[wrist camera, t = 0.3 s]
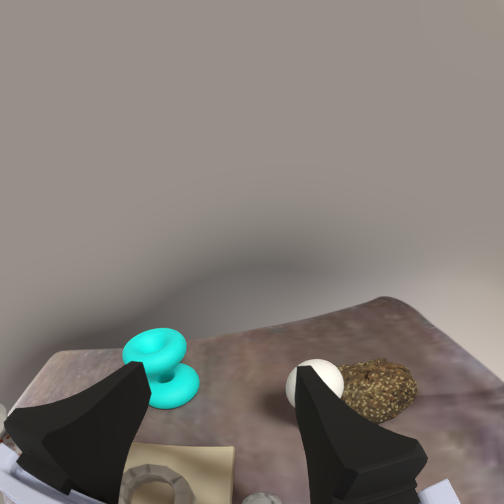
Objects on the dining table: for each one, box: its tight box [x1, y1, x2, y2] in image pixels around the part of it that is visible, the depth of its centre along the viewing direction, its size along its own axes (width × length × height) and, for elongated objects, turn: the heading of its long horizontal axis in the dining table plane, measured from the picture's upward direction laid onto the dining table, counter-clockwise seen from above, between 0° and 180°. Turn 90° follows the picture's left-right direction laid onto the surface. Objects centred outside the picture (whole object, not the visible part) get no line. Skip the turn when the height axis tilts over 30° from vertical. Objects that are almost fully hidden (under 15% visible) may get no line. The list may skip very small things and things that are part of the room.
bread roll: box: [338, 358, 418, 425], centre depth 30 cm, size 13×12×5 cm
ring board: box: [118, 442, 235, 504], centre depth 17 cm, size 18×16×3 cm
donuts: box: [122, 328, 199, 409], centre depth 37 cm, size 10×10×10 cm
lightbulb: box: [286, 359, 344, 407], centre depth 26 cm, size 6×6×11 cm
